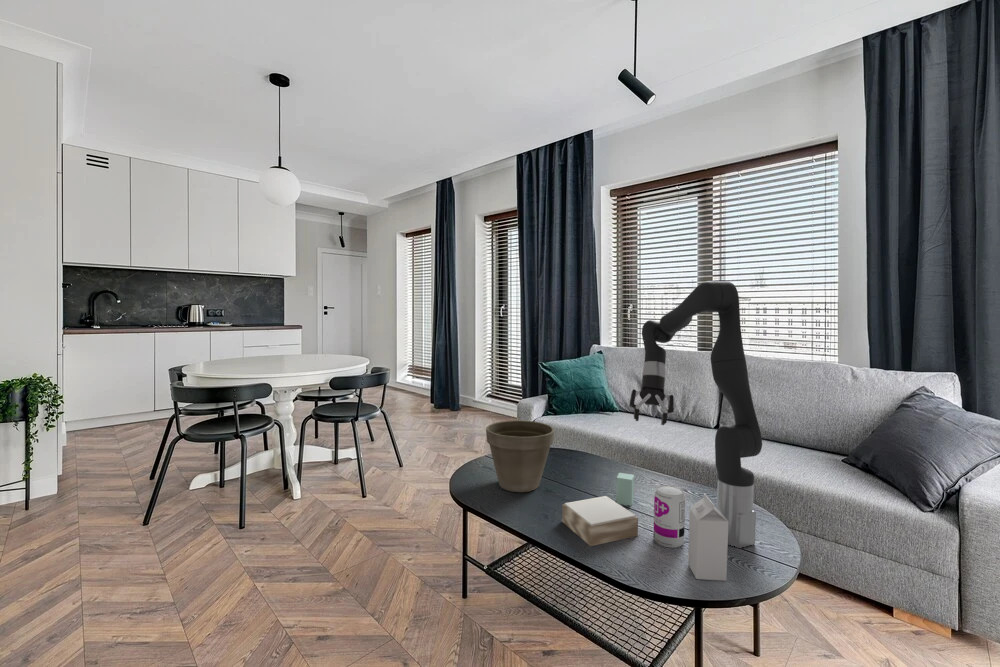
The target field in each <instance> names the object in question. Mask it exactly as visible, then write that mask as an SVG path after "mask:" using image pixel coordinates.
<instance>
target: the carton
mask: <svg viewBox="0 0 1000 667" xmlns="http://www.w3.org/2000/svg"><path fill="white" fill-rule="evenodd" d="M634 496H635V475H634V474H631V473H624V472H618V475H617V476H616V497H615V498H616V501H615V502H616V503H618V504H619V505H621V504H624V505H623V506H627V505H630V506H629V507H632V506H633V504H632V503H634V501H633V500H634V499H635V498H634Z"/></svg>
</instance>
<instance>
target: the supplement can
mask: <svg viewBox="0 0 1000 667" xmlns="http://www.w3.org/2000/svg"><path fill="white" fill-rule="evenodd" d="M653 499H654V500H653V501H654V502H653V505H654V506H653V536H652V537H653V539H654V541H656V543H657V544H658V545H660V546H662V547H665V548H671V549H676V548H677V549H678V548H680V547H681V546H683V545H684V544H685V529H686V528H685V524H686V522H685V521H686V520H685V519H686V495H685V493H684V491H683V489H682V488H680V487H677V486H675V485H670V484H669V485H665V484H664V485H662V484H661V485H659V486H657V488H656V489H655V491H654V496H653Z"/></svg>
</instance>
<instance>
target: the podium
mask: <svg viewBox="0 0 1000 667" xmlns="http://www.w3.org/2000/svg"><path fill="white" fill-rule="evenodd" d="M561 508H562V510H561V513H562V514H561V516H562V518H561V522H562V523H563V524H564V525H565V526H566V527H568V528H569V529H570V530H571V531H572V532H573V533H574V534H576V535H577V536H578V537H579V538H580V539H581V540H583V542H585V543H586V544H588V546H589V547H593V546H598V545H601V544H602V545H603V544H607V543H611V542H615V541H620V540H624V539H628V538H629V539H630V538H635V537H638V535H639V517H638V516H637V515H636V514H635V513H633V512H632V511H630V510H628V509H627V508H625V507H624V506H623V505H621V504H618V503H616V501H615V500H613V499H611V498H610V497H609V496H607V495H603V496H597V497H592V498H587V499H582V500H576V501H571V502H570V501H569V502H564V504H562V507H561Z"/></svg>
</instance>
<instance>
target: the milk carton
mask: <svg viewBox="0 0 1000 667" xmlns="http://www.w3.org/2000/svg"><path fill="white" fill-rule="evenodd" d="M688 518H689V520H688V522H689V523H688V526H689V527H688V559H687V560H688V562H687V564H688V566H689V568H690V570H691V572H692V573H693V574H692V575H693V576H694V577H695V579H696V580H706V581H725V582H726V581H727V574H728V573H727V571H728V569H727V568H728V546H729V545H728V521H727V519H726V518H725V517H724V516H723V515H722V513H721V512H720V511H719V510H718V509H717V506H715V504H714V503H713V502H712V500H711V499H710V497H709V496H707V494H706V493H703V497H702V498H701V499H700V500H698V501H697V502H696V503H694V504H693V505H691V507H689V517H688Z"/></svg>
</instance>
